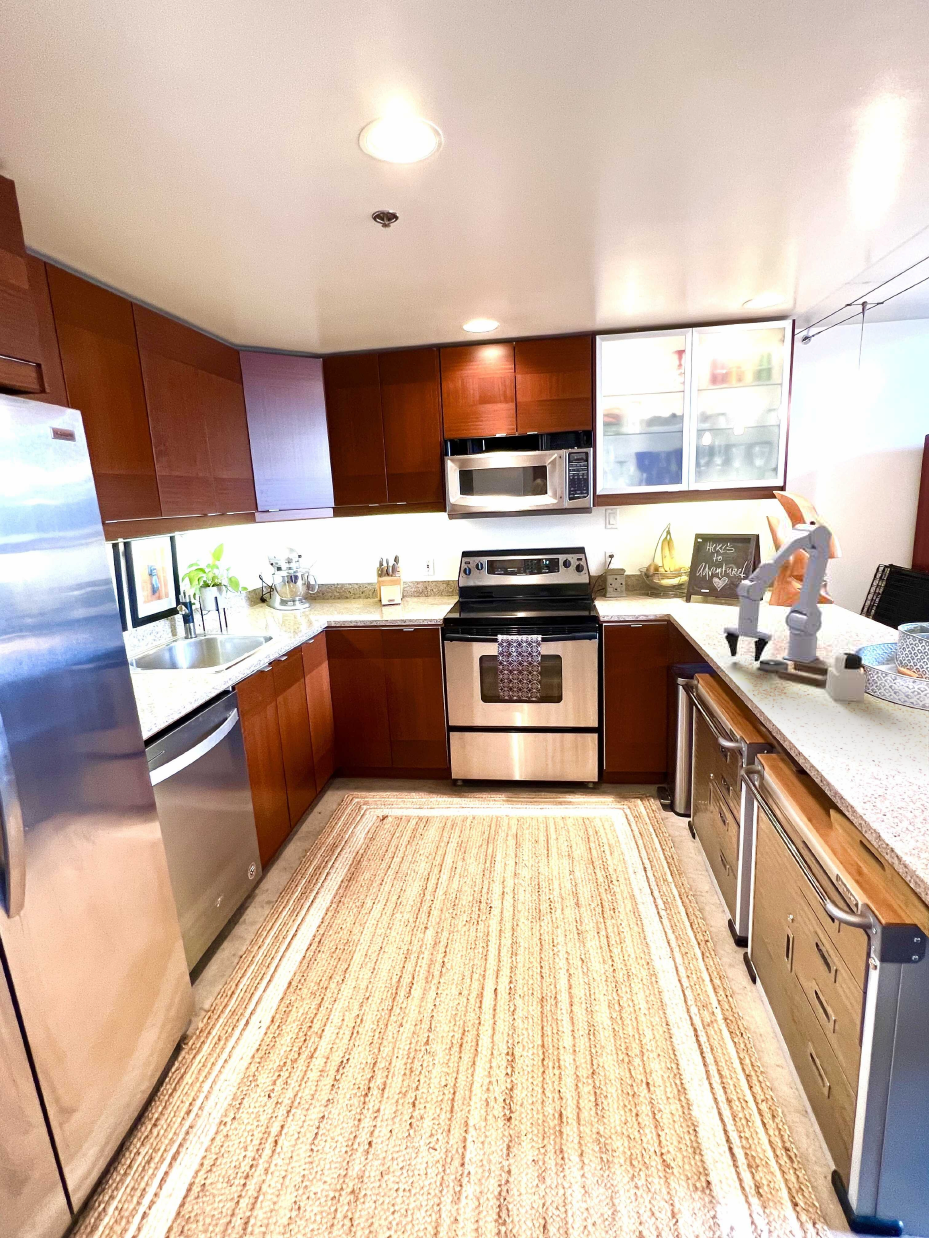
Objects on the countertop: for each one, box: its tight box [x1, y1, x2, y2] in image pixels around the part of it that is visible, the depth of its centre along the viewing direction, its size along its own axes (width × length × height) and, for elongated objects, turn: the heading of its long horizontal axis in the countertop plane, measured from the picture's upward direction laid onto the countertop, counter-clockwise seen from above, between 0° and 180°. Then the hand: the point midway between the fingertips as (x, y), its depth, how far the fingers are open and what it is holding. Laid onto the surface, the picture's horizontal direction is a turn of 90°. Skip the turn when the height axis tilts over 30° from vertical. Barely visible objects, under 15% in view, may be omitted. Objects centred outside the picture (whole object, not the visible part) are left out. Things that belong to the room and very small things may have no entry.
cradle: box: [777, 661, 829, 688], centre depth 174 cm, size 12×12×2 cm
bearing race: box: [758, 658, 789, 675], centre depth 182 cm, size 8×8×2 cm
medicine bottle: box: [825, 652, 867, 702], centre depth 157 cm, size 7×7×12 cm
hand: (745, 658), depth 189 cm, fingers open, 7 cm apart
